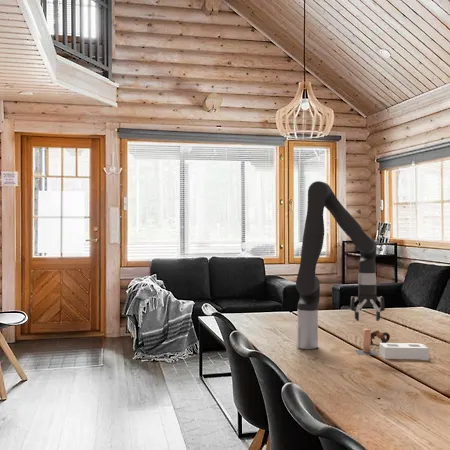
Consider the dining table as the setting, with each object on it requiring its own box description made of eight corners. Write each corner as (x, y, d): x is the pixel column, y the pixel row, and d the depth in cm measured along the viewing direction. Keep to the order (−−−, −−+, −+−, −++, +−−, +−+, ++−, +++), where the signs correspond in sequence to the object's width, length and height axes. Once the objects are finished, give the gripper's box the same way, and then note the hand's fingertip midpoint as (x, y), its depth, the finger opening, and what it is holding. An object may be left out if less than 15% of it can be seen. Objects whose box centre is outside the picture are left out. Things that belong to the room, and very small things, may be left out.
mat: (358, 355, 232) (358, 354, 232) (354, 350, 241) (354, 349, 241) (379, 356, 231) (379, 355, 231) (374, 351, 240) (374, 350, 240)
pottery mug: (377, 350, 244) (368, 333, 247) (367, 355, 252) (358, 339, 255) (397, 341, 248) (389, 325, 251) (387, 346, 257) (378, 330, 259)
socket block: (384, 359, 225) (384, 347, 225) (379, 354, 234) (379, 342, 234) (428, 360, 225) (428, 348, 225) (421, 355, 234) (421, 343, 234)
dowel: (364, 353, 235) (364, 330, 235) (362, 351, 238) (362, 328, 238) (371, 353, 235) (371, 330, 235) (369, 351, 238) (369, 328, 238)
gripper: (352, 284, 233) (352, 322, 233) (386, 284, 232) (386, 322, 232) (349, 282, 240) (349, 319, 240) (381, 282, 240) (381, 319, 240)
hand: (367, 320), depth 236 cm, fingers open, 8 cm apart
